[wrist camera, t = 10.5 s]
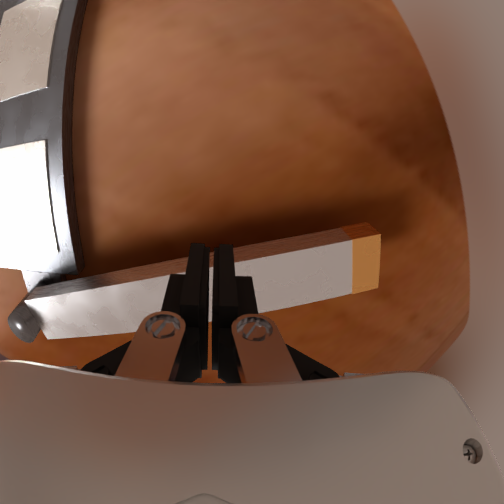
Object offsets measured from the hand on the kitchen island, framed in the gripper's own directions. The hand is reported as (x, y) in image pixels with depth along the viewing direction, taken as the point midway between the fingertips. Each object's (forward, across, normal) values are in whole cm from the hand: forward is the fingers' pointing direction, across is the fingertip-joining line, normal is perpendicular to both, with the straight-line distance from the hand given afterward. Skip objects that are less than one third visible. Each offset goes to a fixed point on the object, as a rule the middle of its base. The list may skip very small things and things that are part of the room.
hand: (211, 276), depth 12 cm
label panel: (+10, +16, -4) cm, 20 cm away
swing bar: (+8, +4, +5) cm, 11 cm away
